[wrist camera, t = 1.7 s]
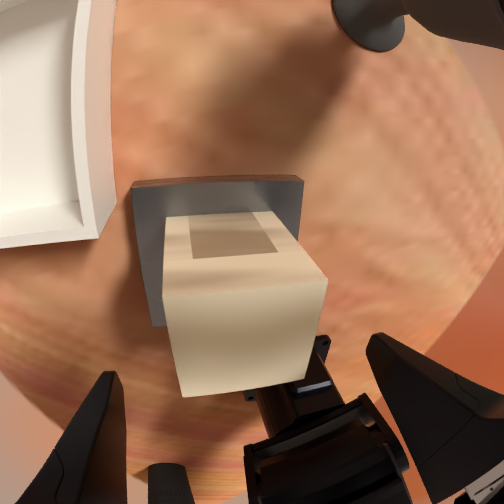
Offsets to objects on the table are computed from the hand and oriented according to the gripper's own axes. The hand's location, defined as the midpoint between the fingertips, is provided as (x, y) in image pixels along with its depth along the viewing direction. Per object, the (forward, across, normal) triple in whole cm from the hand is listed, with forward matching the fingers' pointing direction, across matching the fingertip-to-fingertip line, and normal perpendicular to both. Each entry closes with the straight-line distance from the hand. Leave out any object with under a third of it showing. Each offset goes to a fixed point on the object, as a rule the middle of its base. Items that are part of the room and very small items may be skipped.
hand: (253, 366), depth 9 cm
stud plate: (+8, 0, 0) cm, 8 cm away
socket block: (+7, 0, 0) cm, 7 cm away
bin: (+8, +11, -9) cm, 16 cm away
